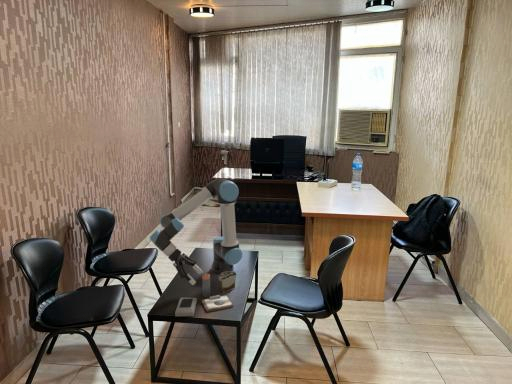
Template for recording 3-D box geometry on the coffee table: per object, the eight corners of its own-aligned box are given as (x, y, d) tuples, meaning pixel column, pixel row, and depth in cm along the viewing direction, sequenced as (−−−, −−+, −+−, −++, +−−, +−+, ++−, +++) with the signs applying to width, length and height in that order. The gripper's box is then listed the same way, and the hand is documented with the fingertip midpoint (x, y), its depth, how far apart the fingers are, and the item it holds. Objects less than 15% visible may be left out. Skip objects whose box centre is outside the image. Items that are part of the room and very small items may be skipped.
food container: (230, 283, 228) (230, 268, 226) (236, 287, 223) (236, 271, 221) (214, 290, 219) (214, 274, 217) (221, 293, 215) (220, 278, 213)
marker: (202, 294, 214) (201, 274, 211) (209, 293, 216) (208, 272, 213) (203, 298, 210) (203, 277, 207) (211, 296, 212) (211, 276, 209)
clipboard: (201, 301, 206) (201, 298, 205) (226, 296, 211) (226, 293, 211) (206, 312, 195) (206, 308, 195) (233, 306, 201) (233, 303, 200)
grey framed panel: (174, 310, 191) (179, 296, 205) (175, 317, 191) (180, 302, 206) (193, 310, 191) (196, 296, 206) (193, 316, 192) (197, 302, 206)
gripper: (175, 248, 222) (200, 273, 223) (159, 265, 198) (186, 292, 199) (183, 240, 220) (208, 265, 221) (168, 256, 196) (195, 284, 197)
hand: (198, 278), depth 210 cm, fingers open, 13 cm apart
